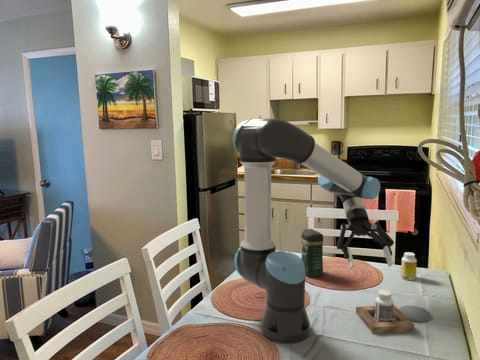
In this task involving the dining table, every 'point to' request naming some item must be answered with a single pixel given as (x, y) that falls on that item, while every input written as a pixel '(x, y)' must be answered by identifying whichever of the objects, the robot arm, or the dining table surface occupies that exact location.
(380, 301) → the pill bottle
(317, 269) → the coffee jar
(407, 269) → the supplement bottle
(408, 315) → the coaster
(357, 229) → the robot arm
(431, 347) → the dining table surface
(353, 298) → the dining table surface
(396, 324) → the pocket
